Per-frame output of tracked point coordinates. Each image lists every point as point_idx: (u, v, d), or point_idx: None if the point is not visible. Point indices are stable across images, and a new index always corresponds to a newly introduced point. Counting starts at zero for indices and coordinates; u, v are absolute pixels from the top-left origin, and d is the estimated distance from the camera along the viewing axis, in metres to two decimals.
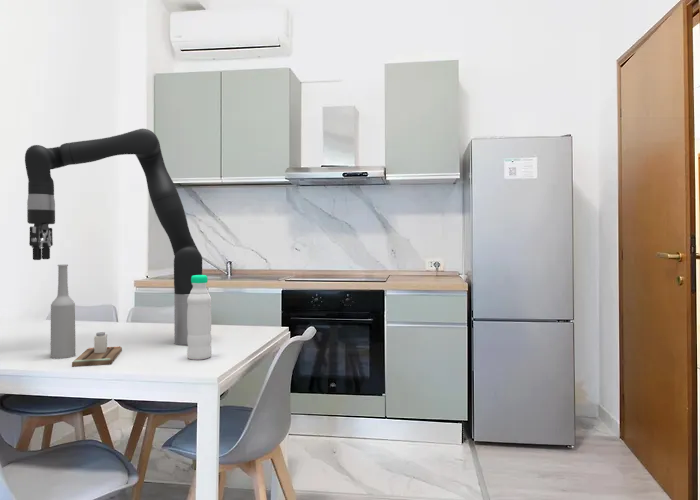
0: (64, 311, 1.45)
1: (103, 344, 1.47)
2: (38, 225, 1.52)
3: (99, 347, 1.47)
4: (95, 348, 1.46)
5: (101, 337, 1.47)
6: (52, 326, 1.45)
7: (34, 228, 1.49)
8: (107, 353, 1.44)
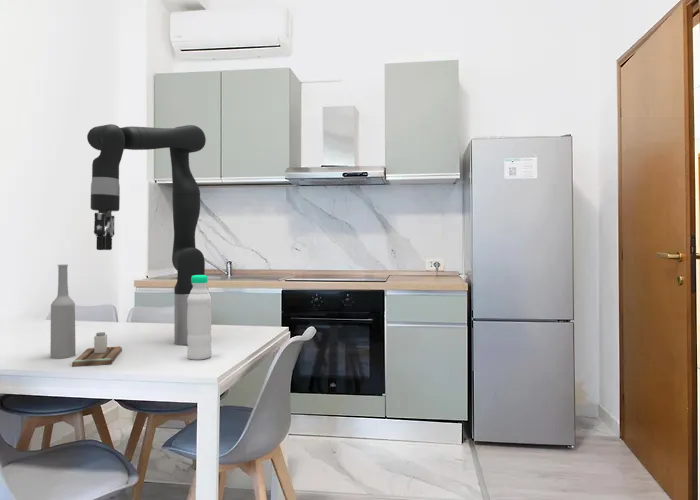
0: (64, 311, 1.45)
1: (103, 344, 1.47)
2: (103, 211, 1.37)
3: (99, 347, 1.47)
4: (95, 348, 1.46)
5: (101, 337, 1.47)
6: (52, 326, 1.45)
7: (99, 214, 1.34)
8: (107, 353, 1.44)
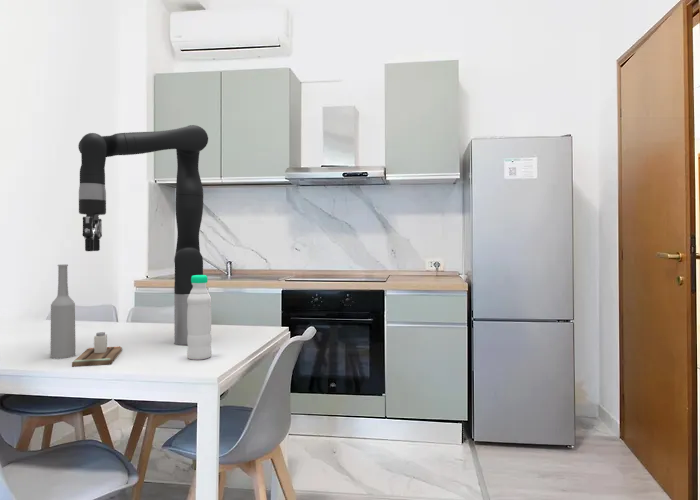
0: (64, 311, 1.45)
1: (103, 344, 1.47)
2: (90, 215, 1.47)
3: (99, 347, 1.47)
4: (95, 348, 1.46)
5: (101, 337, 1.47)
6: (52, 326, 1.45)
7: (87, 218, 1.44)
8: (107, 353, 1.44)
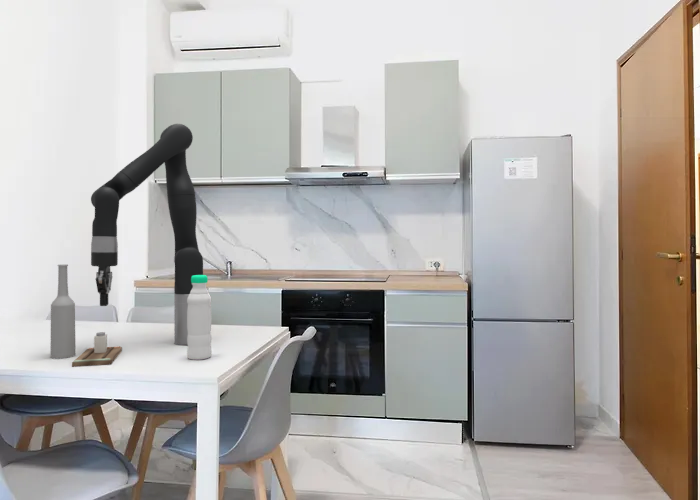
0: (64, 311, 1.45)
1: (103, 344, 1.47)
2: (102, 268, 1.50)
3: (99, 347, 1.47)
4: (95, 348, 1.46)
5: (101, 337, 1.47)
6: (52, 326, 1.45)
7: (100, 280, 1.48)
8: (107, 353, 1.44)
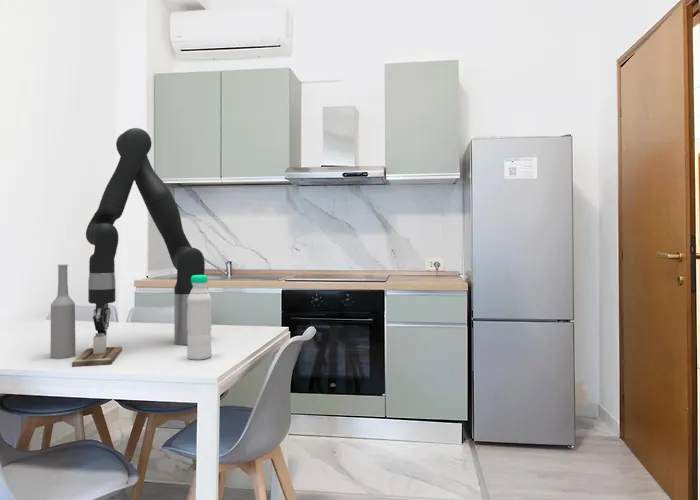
0: (64, 311, 1.45)
1: (102, 345, 1.46)
2: (100, 306, 1.47)
3: (98, 348, 1.46)
4: (94, 349, 1.45)
5: (100, 337, 1.46)
6: (52, 326, 1.45)
7: (98, 318, 1.45)
8: (107, 353, 1.44)
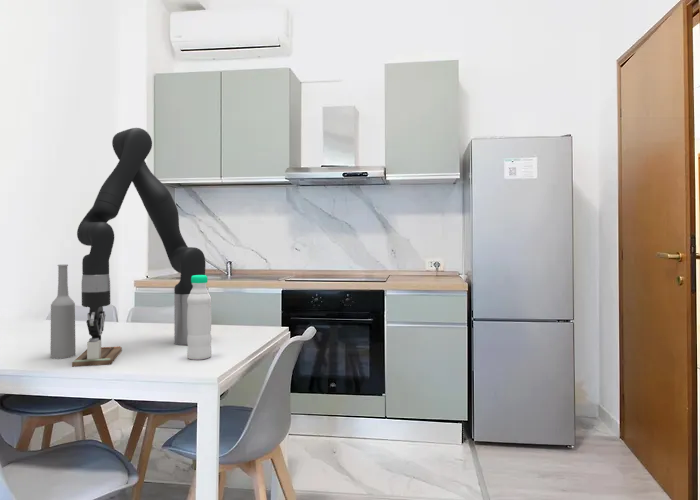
0: (64, 311, 1.45)
1: (96, 350, 1.38)
2: (94, 309, 1.39)
3: (92, 354, 1.38)
4: (88, 355, 1.38)
5: (94, 343, 1.38)
6: (52, 326, 1.45)
7: (91, 323, 1.37)
8: (107, 353, 1.44)
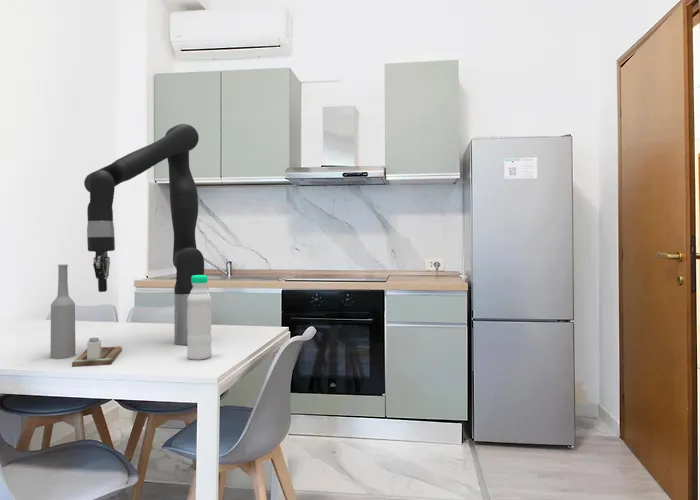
0: (64, 311, 1.45)
1: (96, 350, 1.38)
2: (100, 253, 1.47)
3: (92, 354, 1.38)
4: (88, 355, 1.38)
5: (94, 342, 1.38)
6: (52, 326, 1.45)
7: (98, 265, 1.44)
8: (107, 353, 1.44)
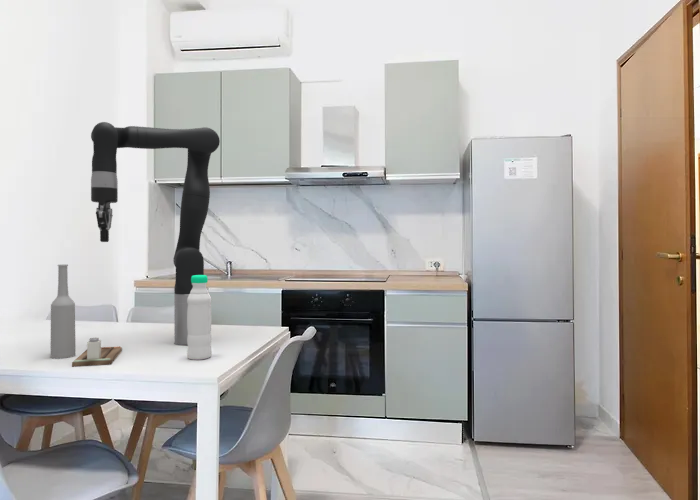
0: (64, 311, 1.45)
1: (96, 350, 1.38)
2: (102, 203, 1.50)
3: (92, 354, 1.38)
4: (88, 355, 1.38)
5: (94, 342, 1.38)
6: (52, 326, 1.45)
7: (100, 214, 1.48)
8: (107, 353, 1.44)
